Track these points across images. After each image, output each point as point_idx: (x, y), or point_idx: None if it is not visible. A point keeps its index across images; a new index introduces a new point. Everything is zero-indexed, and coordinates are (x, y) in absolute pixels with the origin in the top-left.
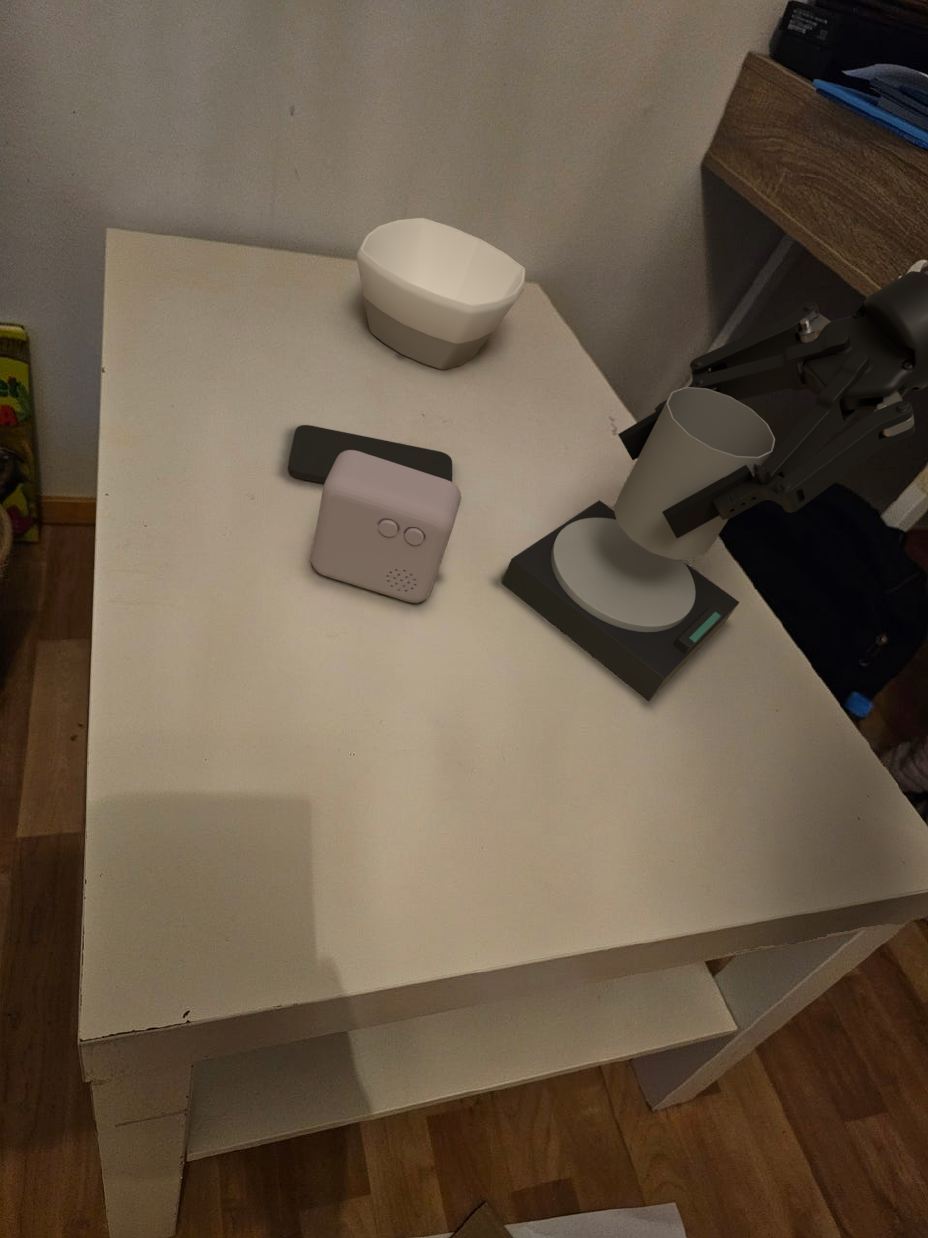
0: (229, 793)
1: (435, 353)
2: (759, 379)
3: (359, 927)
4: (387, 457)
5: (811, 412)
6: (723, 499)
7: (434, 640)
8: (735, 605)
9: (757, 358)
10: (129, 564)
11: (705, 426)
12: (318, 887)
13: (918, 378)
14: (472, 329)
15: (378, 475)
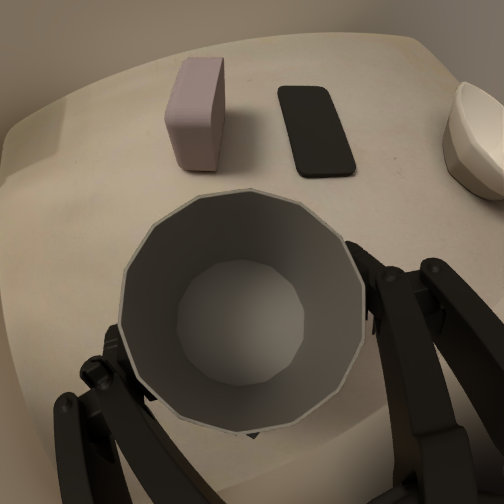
0: (62, 127)
1: (450, 156)
2: (396, 388)
3: (11, 188)
4: (324, 131)
5: (198, 501)
6: (118, 333)
7: (155, 184)
8: (247, 434)
9: (470, 376)
10: (179, 58)
11: (334, 327)
12: (25, 169)
13: None
14: (471, 160)
15: (198, 71)
